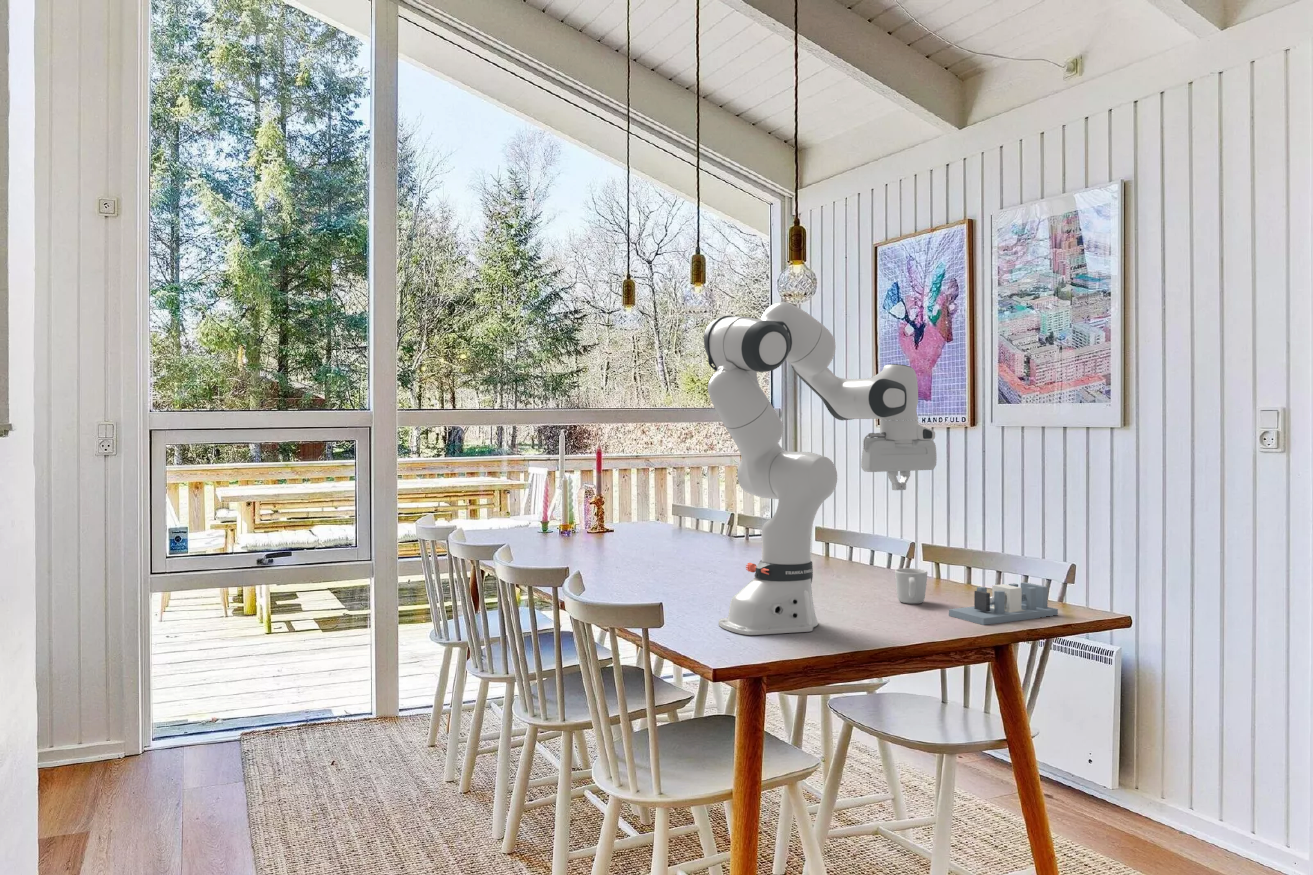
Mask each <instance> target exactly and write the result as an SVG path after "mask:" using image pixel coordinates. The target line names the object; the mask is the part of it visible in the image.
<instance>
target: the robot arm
mask: <svg viewBox="0 0 1313 875" xmlns="http://www.w3.org/2000/svg"><path fill="white" fill-rule="evenodd" d="M705 328H706V329H705V330H704V334H703V344H704V345H703V346H704V349H705V352H706V355H707V362H708V364H709V366H710V368H712V370H714V371H716V372H714V373H713V375H712V376H711V377H710V379H709V380H708V384H707V392H708V393H707V394H709V398H710V401H711V403H712V405H713V408H714V409H715V412H716V414H717V415H718V418H719V419H720V422H721V423H722V424H723V426H724V428H726V430H727V432H728V433H729V435H730V438H731V439H732V440H733V441H734V443H735V445H736V447H737V448H738V450H739V451H738V452H740V457H741V460H740V461H739V463H738V467H737V471H736V473H737V481H738V484H739V486H740V488H741V489H742V490H743V491H744V492H745V493H748V494H750V495H752V496H755V497H758V498H760V499H761V498H762V499H771V500H778V502H777V508H776V510H775V513H774V515H773V516H772V517H771V518H769V519H767V521H765V522H763V525H762V526H761V533H760V535H761V538H760V539H761V540H760V541H761V549H760V550H761V555H760V556H761V560H760V561H759V563H758V564H755V563H752V562H748V563H747V564H746V565H745V570H746V571H747V572H750V573H755V574H754V578H753V579H752V580H751V581H750V582H748V583H747V584H746V585H745V586H744V587H743V588H741V589H740V590H739V591H738V592H737V593H736V594H735V595H733V596H732V598H731V599H730V603H729V608H728V615H727V616H728V617H724V618H720V619H718V626H719V627H721V628H722V629H724V630H727V631H730V632H732V633H736V634H740V635H746V636H758V635H775V634H777V635H778V634H788V633H789V634H791V633H805V632H812V631H813V630H814V628H815V627H817V626H819V622H818V619H817V616H816V611H815V605H814V598H813V590H812V582H813V579H814V575H813V574H814V569H813V561H812V559H811V558H812V556H811V555H812V554H811V553H812V552H811V551H812V548H811V547H812V531H813V524H814V520H815V518H816V516H817V513H818V511H819V509H820V507H821V506H822V505H823V503H824V502H825V501H826V500H827V499H828V498H830V496H832V494H833V493H834V492H835V489H836V487H837V485H838V484H837V482H838V472H837V468H836V466H835V463H834V462H833V461H832V459H831V458H829V457H827V456H825V455H820V454H818V453H815V452H811V451H789V450H785V449H783V448H782V447H781V445H780V444H779V442H780V441H781V439H782V436H783V433H784V424H783V421H782V419H781V418H780V416H779V414H777V412H776V409H775V408H774V406H773V405H772V403H771V402H770V400H769V398H768V396H767V395H766V394H765V392H764V390H763V389H762V388H761V386H760V383H759V381H758V376H757V375H758V374H757V373H767V372H772V371H775V370H777V369H778V368H779V367H780V366H782V364H784V362H785V361H786V362H787V363H788V364H790V365H791V367H792V370H793V371H794V374H796V376H798V377H799V378H800V380H802V381H803V383H805V385H806V386H807V387H809V389H811V390H812V391H813V392H814V393H815V394H816V395H817V396H818V397H819V398H820V399H821V401H822V402H823V404H824V406H825V408H826V409H827V411H828V412H829V414H830V415H831V416H832V417H833V418H834V419H836V420H839V421H849V420H850V421H851V420H870V419H871V420H875V419H878V420H879V419H880V420H879V423H880V424H879V425H880V427H879V428H880V429H879V432H870V433H868V434H867V435H866V436H864V438H863V441H862V442H863V443H862V444H863V445H862V446H863V447H862V452H861V463H860V466H861V469H862V471H863V472H865V473H881V472H882V473H884V472H885V473H886V472H887V477H888V479H889V481H890V482H891V489H892V491H906V490H907V483H908V481H909V479H910V477H911V471H912V472H913V471H933V470H935V469H936V466H937V460H938V459H937V446H936V443H935V441H934V440H935V439H936V431H935V430H933V429H931V428H927V427H926V426H922V425H921V424H919V417H918V413H917V412H918V411H917V409H918V408H917V407H918V404H919V385H918V377H917V373H916V370H915V369H914V368H913V367H912V366H909V365H907V364H901V363H900V364H899V363H889V364H885V365H884V366H883V368H882V370H881V371H880V372H878V373H877V374H876V375H873V376H871V377H866V378H842V377H839V376H836V375H835V374H834V373H833V371H831V370H830V368H828V367H829V365H830V364H831V363H832V361H833V359H834V356H835V354H836V349H837V348H836V345H837V344H836V339H835V337H834V335H833V334H832V332H830V330H829V329H828V328H827V327H826V326H825V325H823V324H822V322H820V321H818V319H816V318H814V316H812V315H811V314H809V313H807V311H805V310H803V309H802V308H800V307H798V306H796V305H793V304H792V303H790V302H787V301H778V302H775V303H772V304H771V305H770V306H768V307H767V308H766V309H765V310H764V311H763V313H762V315H761V317H760V318H753V317H751V316H743V315H739V316H738V315H737V316H736V315H735V316H734V315H722V316H720V317H716V318H715V319H713V320H712V321H710V323H709V324H708V325H707V327H705ZM899 475H900V479H899V480H898V478H897V477H898V476H899Z"/></svg>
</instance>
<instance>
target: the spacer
mask: <svg viewBox="0 0 1313 875" xmlns="http://www.w3.org/2000/svg"><path fill="white" fill-rule="evenodd" d="M991 587H992V591H991V592H992V593H991V597H994V591H1005V596H1006V595H1007V603H1005V604H1004V607H1007V611H1018V610H1021V598H1022V588H1021V586H1018V587H1015V586H1010V585H1009V584H1004V583H1002V584H1001V583H1000V584H992V586H991ZM992 607H994V605H992Z"/></svg>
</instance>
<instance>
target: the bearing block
mask: <svg viewBox="0 0 1313 875" xmlns="http://www.w3.org/2000/svg"><path fill="white" fill-rule="evenodd" d="M1008 585H1010V586H1015V587H1019V584H1018V583H1008ZM1020 588H1022V594H1025V595H1026V601H1022V602H1021V610H1018V611H1007V607H1004V600H1005V591H994V607H992V605H990V611H988V612H985V611H981V610H977V609H974V606H966V607H965V606H964V607H958V608H957V607H956V608H949V609H948V616H949V617H952V618H956V619H960V620H963V621H968V622H971V623H975V624H978V625H982V626H985V625H993V624H1002V623H1010V622H1016V621H1026V620H1033V619H1041V618H1040V617H1042V618H1047V617H1046V616H1050V617H1054V616H1053V615H1057V614H1058V615H1059V612H1058V610H1059V609H1058V608H1054V607H1050V606H1049V605H1048V593H1049V592H1048V591H1049V590H1048V588H1049V586H1045V585H1041V584H1036V583H1031V582H1026V581H1025V582H1024V581H1023V582H1020ZM976 591H983V592H987V593H988V587H985V586H977V587H976Z"/></svg>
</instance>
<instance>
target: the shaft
mask: <svg viewBox="0 0 1313 875" xmlns="http://www.w3.org/2000/svg"><path fill="white" fill-rule="evenodd" d="M973 595H974V604H973V605H974V609H977V610H981V611H985V612H988V611H990V605H994V597H992V596H991V593H990V592H988V591H987V592H983V591H977V590H974V594H973ZM1022 601H1026V595H1025V594H1022V598H1021V602H1022ZM1005 603H1007V595H1006V596H1005V600H1004V604H1005Z"/></svg>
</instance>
